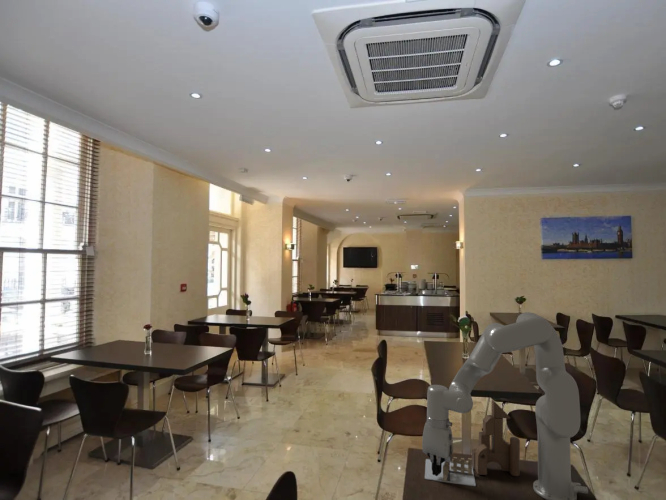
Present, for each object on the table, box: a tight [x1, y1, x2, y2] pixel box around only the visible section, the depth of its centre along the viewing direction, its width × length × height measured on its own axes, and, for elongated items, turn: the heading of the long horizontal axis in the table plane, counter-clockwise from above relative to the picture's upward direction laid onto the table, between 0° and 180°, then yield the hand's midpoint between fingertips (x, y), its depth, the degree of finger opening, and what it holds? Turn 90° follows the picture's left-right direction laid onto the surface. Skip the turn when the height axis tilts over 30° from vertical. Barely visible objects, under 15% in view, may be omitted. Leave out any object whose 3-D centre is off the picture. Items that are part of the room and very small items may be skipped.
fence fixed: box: [451, 456, 472, 475], centre depth 140 cm, size 7×1×6 cm, turn 75°
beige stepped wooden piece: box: [443, 462, 450, 483], centre depth 138 cm, size 9×1×5 cm, turn 157°
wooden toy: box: [471, 399, 521, 477], centre depth 142 cm, size 15×7×25 cm, turn 88°
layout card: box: [424, 458, 477, 487], centre depth 141 cm, size 17×14×1 cm
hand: (436, 473), depth 137 cm, fingers closed
